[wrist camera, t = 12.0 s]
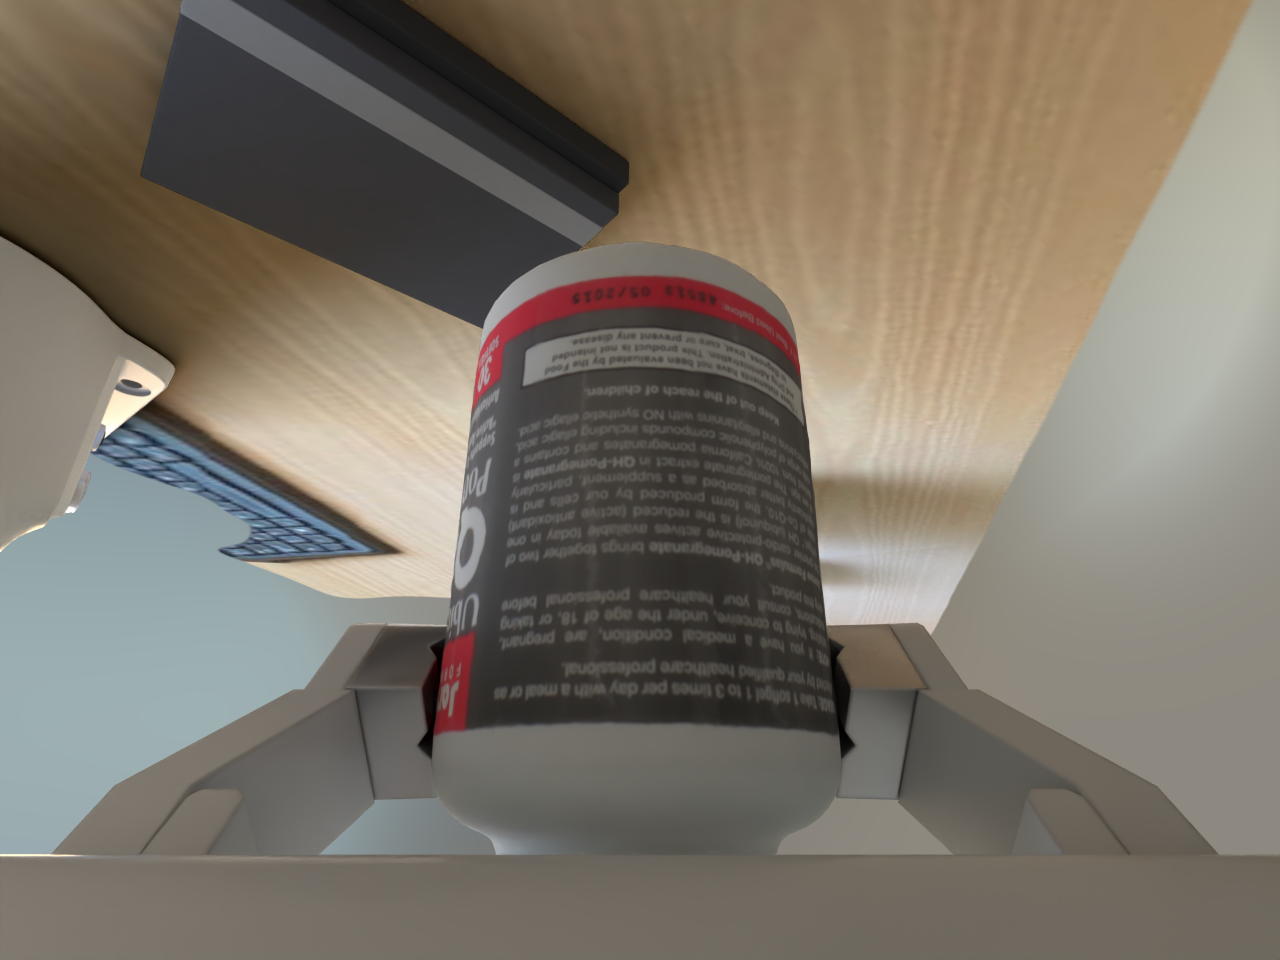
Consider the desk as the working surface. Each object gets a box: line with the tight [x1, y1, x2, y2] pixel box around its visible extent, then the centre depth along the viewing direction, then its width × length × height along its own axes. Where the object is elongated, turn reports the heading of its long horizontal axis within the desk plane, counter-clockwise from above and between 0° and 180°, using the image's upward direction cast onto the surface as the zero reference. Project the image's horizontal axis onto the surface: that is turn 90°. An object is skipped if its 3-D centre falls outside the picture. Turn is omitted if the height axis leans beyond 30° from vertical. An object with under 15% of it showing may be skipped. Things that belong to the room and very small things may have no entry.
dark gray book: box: [140, 0, 629, 329], centre depth 22 cm, size 9×12×2 cm
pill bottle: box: [431, 242, 841, 855], centre depth 10 cm, size 5×5×10 cm
